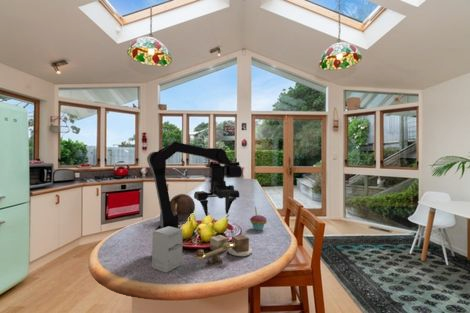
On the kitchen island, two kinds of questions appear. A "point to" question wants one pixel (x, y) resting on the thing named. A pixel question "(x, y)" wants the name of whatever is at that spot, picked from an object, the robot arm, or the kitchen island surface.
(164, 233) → the supplement box
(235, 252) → the dish
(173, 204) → the wooden sphere
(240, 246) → the walnut block
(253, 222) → the cupcake
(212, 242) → the maple block
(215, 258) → the balance
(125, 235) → the kitchen island surface
